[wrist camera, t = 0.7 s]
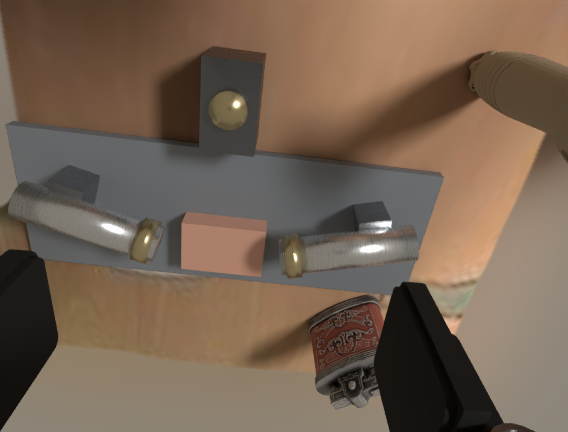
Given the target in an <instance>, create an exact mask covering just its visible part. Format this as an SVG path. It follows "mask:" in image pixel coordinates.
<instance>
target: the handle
mask: <svg viewBox="0 0 568 432" xmlns="http://www.w3.org/2000/svg"><path fill="white" fill-rule="evenodd" d="M469 68H470V71H471V75H470V80H469V81H468V86H469V87H470V89H471V90H472V91H473V92H474V93H477V94H478V95H479V96H480V98H482V99H483V100H484V101H485V102H486V103H487V104H489V105H490V106H491V107H493V108H494V109H496V110H497V111H499V112H500V113H502V114H504V115H506V116H507V117H510V118H512V119H515V120H517V121H520V122H522V123H524V124H527V125H529V126H532V127H534V128H536V129H539V130H541V131H543V132H546V133H548V134H550V135H553V136H555V142H556V145H557V149H558V151H559V152H560V154H561V155H562V156H563V158H564V159H565V161H566V162H567V163H568V67H567V66H564V65H562V64H559V63H556V62H554V61H551V60H549V59H546V58H544V57H540V56H536V55H532V54H527V53H521V52H498V51H488V52H485V53H484V55H483V56H482V57H481V58H480V59H478V60H477V61H473V62H472V63H471V65H470V66H469Z"/></svg>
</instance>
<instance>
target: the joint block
mask: <svg viewBox="0 0 568 432" xmlns="http://www.w3.org/2000/svg"><path fill="white" fill-rule="evenodd" d="M265 58H266V53H260V52H252V51H245V50H237V49H230V48H223V47H215V46H213V47H211V48H210V49H209V50H207V51H206V52H205V53H203V54H202V55H201V84H200V122H199V151H207V152H216V153H224V154H233V155H241V156H249V157H254V154H255V149H256V144H257V138H258V130H259V120H260V109H261V99H262V89H263V79H264V68H265Z"/></svg>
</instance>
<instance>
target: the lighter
mask: <svg viewBox="0 0 568 432" xmlns="http://www.w3.org/2000/svg"><path fill="white" fill-rule="evenodd" d="M383 325H384V321H383V318H382V315H381V307H380V304H379V301H378V299H377V298H376V297H374V296H371V295H366V296H362V297H359V298H355V299H352V300H349V301H346V302H344V303H341V304H339V305H336V306H334V307H332V308H330V309H328V310H326V311H324V312H323V313H321V314H320V315H318V316H317V317H315V318H313V319H312V320H311V321H310V322H309V324H308V328H309V334H310V336H311V338H312V346H313V353H314V361H315V368H316V378H315V383H316V389H317V391H318V392H319V393H321V394H323V395H328V396H330V399H331V406H332V407H333V409H335V410H340V409H343V408H346V407H348V406H351V405H355V406H356V407H357V408H361V407H364V406H366V405H367V403H368V400H369V399H370V398H372V397H377V396H380V392H379V388H378V384H377V380H376V376H375V372H374V357H375V353H376V350H377V346H378V343H379V339H380V335H381V332H382V328H383Z"/></svg>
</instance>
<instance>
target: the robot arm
mask: <svg viewBox="0 0 568 432" xmlns="http://www.w3.org/2000/svg"><path fill="white" fill-rule="evenodd" d="M57 342H58V332H57V326H56V321H55V316H54V311H53V305H52V300H51V295H50V290H49V284H48V279H47V274H46V269H45V263H44V260H43V259H42V258H41V257H38V255H37V254H36V252H34V251H25V250H13V249H11V250H8V251H6V252H5V253H4V254H3V255H1V256H0V431H1V429H2V428H3V426H4V425H5V423H6V422H7V420H8V419H9V417H10V416H11V414H12V413H13V411H14V410H15V408H16V407H17V405H18V404H19V402H20V401H21V399H22V398H23V396H24V395H25V393H26V392H27V390H28V389H29V387H30V386H31V384H32V383H33V381H34V380H35V378H36V377H37V375H38V374H39V372H40V371H41V369H42V368H43V366H44V365H45V363H46V362H47V360H48V359H49V357H50V356H51V354H52V352H53V351H54V349H55V348H56V345H57ZM374 372H375V376H376V380H377V384H378V388H379V392H380V396H381V399H382V403H383V407H384V410H385V415H386V419H387V423H388V426H389V430H390V432H535V431H533V430H531V429H529V428H527V427H524V426H521V425H518V424H514V423H503V421H502V419H501V417H500V415H499V413H498V411H497V410H496V408H495V406H494V404H493V402H492V400H491V399H490V397H489V395H488V393H487V391H486V389H485V387H484V385H483V384H482V382H481V380H480V378H479V376H478V374H477V372H476V371H475V369H474V367H473V365H472V363H471V361H470V359H469V358H468V356H467V354H466V352H465V350H464V349H463V346H462V345H461V343H460V341H459V340H458V338H457V337H456V336H455V335H453V334H451V332H450V330H449V328H448V326H447V325H446V323H445V321H444V319H443V317H442V315H441V313H440V311H439V309H438V307H437V306H436V304H435V302H434V300H433V298H432V296H431V294H430V292H429V290H428V288H427V287H426V285H425V284H423V283H414V282H402V283H401V285H400V287H398V286H396V287H394V289H393V292H392V296H391V299H390V303H389V306H388V310H387V314H386V317H385V321H384V325H383V328H382V332H381V335H380V339H379V343H378V346H377V350H376V353H375V357H374Z"/></svg>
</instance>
